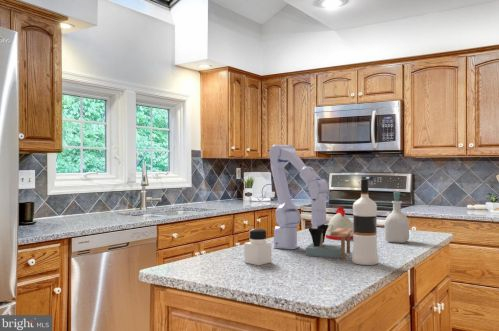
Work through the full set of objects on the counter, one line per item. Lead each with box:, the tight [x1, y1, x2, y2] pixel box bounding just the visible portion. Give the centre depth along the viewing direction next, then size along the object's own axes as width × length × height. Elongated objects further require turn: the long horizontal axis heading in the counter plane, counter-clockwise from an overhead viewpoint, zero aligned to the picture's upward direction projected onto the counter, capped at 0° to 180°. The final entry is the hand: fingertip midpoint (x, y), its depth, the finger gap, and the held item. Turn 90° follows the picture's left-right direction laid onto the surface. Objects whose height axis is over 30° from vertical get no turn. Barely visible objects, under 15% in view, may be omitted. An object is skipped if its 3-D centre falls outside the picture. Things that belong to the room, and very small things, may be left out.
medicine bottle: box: [243, 228, 272, 266], centre depth 156 cm, size 7×7×12 cm
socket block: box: [305, 242, 341, 259], centre depth 169 cm, size 13×10×3 cm
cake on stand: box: [325, 206, 354, 241], centre depth 208 cm, size 14×14×15 cm
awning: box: [330, 228, 352, 260], centre depth 167 cm, size 6×14×10 cm, turn 158°
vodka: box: [351, 178, 380, 266], centre depth 154 cm, size 9×9×30 cm
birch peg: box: [315, 233, 324, 247], centre depth 170 cm, size 3×3×8 cm
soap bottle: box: [384, 191, 410, 244], centre depth 196 cm, size 10×10×23 cm
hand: (318, 244), depth 170 cm, fingers open, 7 cm apart
